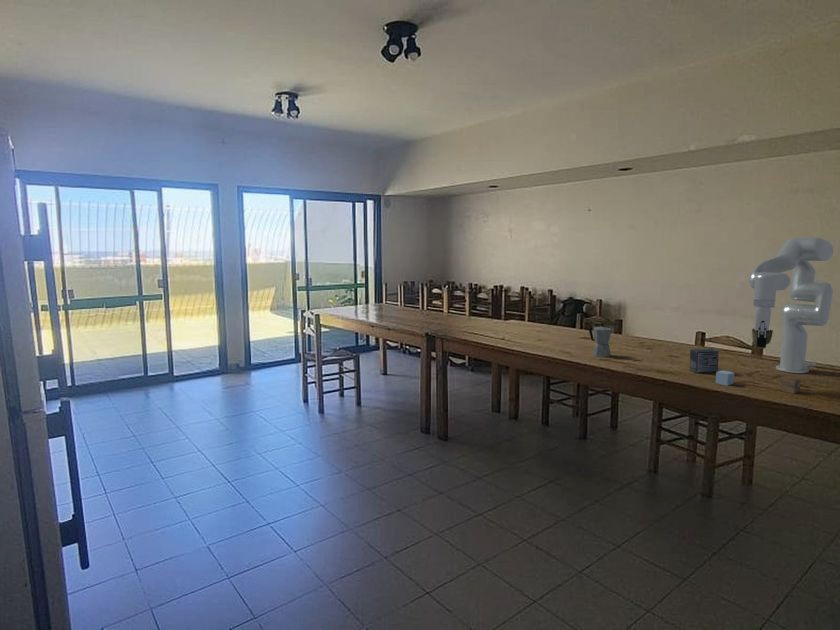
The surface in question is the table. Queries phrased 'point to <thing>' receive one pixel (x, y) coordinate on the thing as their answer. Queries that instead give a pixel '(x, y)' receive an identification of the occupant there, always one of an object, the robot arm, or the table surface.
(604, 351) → the coffeepot
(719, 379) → the slate-blue cube
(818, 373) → the table surface
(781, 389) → the walnut cube
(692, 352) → the small box
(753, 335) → the cup
